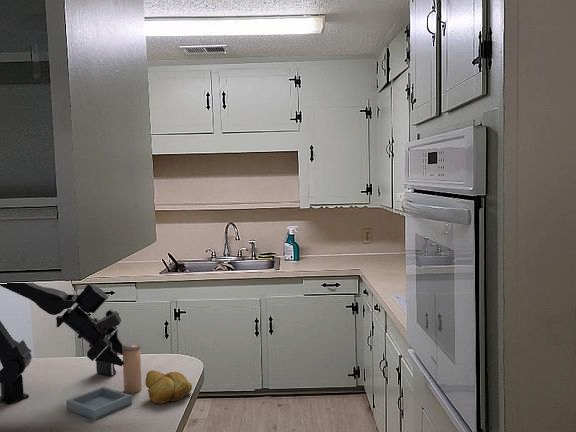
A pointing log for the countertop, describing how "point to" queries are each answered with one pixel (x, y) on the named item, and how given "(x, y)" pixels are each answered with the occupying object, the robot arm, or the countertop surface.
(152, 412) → the countertop surface
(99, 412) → the tray
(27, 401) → the countertop surface
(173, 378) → the bread roll
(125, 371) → the jar
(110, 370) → the battery charger
